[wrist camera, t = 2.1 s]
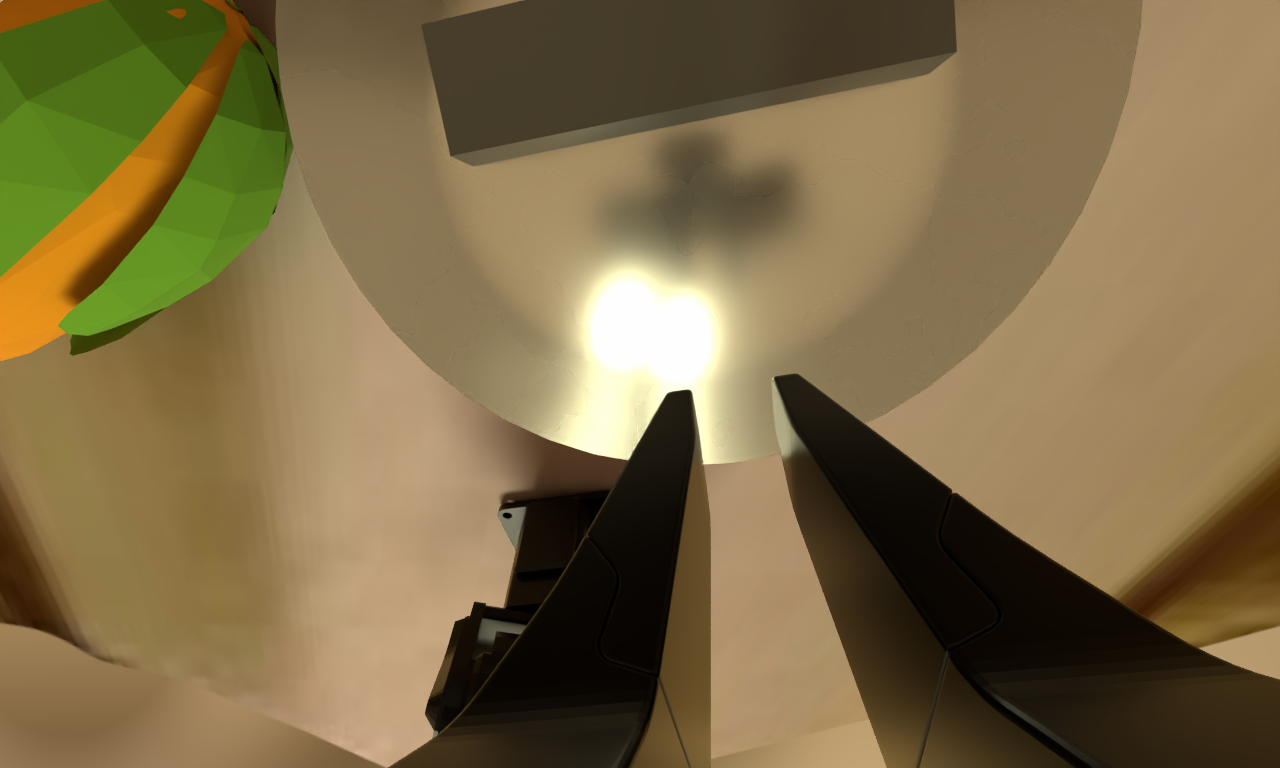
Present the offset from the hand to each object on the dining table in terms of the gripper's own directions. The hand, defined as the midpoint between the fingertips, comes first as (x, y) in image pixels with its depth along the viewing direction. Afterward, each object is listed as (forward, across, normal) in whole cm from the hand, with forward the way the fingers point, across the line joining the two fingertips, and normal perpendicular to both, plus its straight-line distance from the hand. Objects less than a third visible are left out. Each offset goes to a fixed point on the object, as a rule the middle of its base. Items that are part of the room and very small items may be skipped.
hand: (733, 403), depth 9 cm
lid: (+5, 0, -4) cm, 6 cm away
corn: (+13, +20, -3) cm, 24 cm away
